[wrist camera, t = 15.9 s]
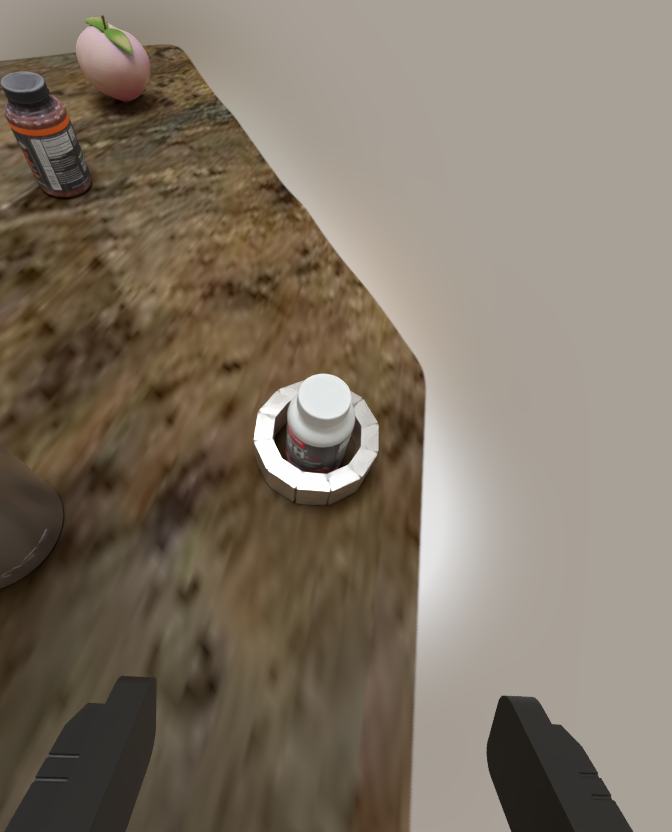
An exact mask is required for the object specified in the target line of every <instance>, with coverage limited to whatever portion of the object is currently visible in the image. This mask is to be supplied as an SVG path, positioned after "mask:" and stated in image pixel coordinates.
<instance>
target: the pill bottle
mask: <svg viewBox="0 0 672 832" xmlns="http://www.w3.org/2000/svg"><path fill="white" fill-rule="evenodd" d="M354 424H355V410H354V407H353V405H352V403H351V392H350V390H349V388H348V386H347V385H346V383H345V382H344V381H342V380H341V379H340V378H338V377H336V376H333V375H329V374H317V375H313V376H311V377H309V378H307V379H306V380H305V381H304V382H303V383H302V384H301V386H300V388H299V391H298V393H297V394H296V395H295V396H294V398H293V399H292V401H291V402H290V405H289V408H288V412H287V434H286V455H287V458H288V461H289V463H290V464H291V465H293V466H294V467H296V468H297V469H299V470H300V471H302V472H311V473H322V474H328V473H330V472H333V471H335V470H336V469H337V468H338V467H339V466H340V464H341V462H342V460H343V457H344V455H345V452H346V449H347V445H348V442H349V439H350V436H351V433H352V430H353V428H354Z"/></svg>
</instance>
